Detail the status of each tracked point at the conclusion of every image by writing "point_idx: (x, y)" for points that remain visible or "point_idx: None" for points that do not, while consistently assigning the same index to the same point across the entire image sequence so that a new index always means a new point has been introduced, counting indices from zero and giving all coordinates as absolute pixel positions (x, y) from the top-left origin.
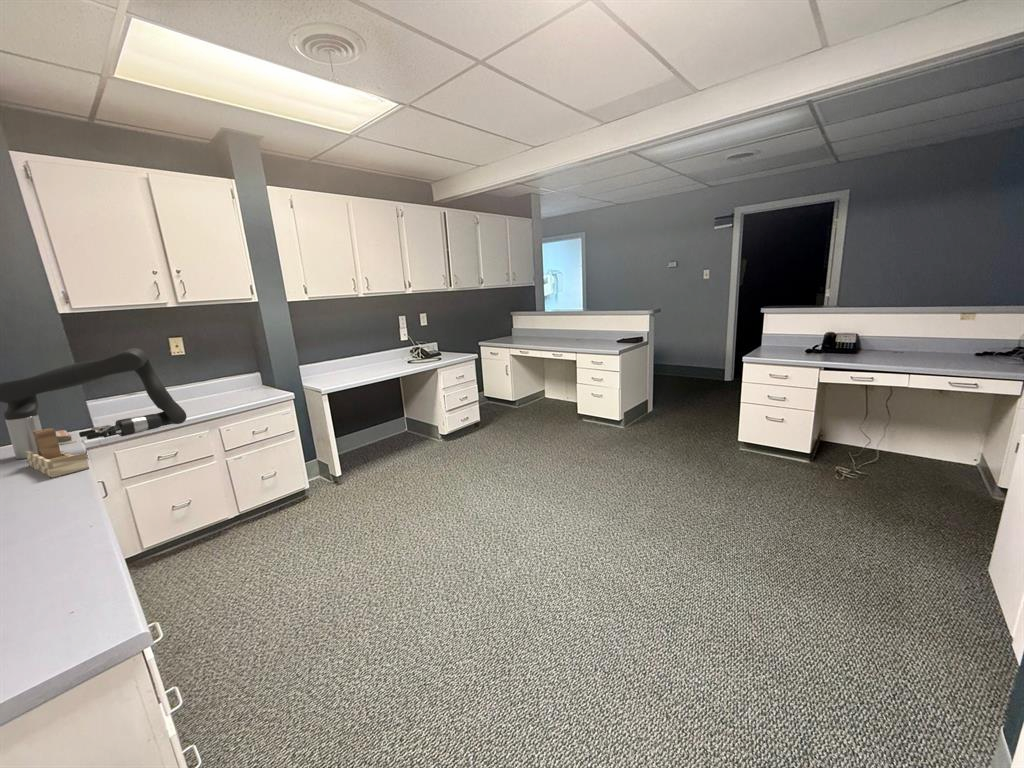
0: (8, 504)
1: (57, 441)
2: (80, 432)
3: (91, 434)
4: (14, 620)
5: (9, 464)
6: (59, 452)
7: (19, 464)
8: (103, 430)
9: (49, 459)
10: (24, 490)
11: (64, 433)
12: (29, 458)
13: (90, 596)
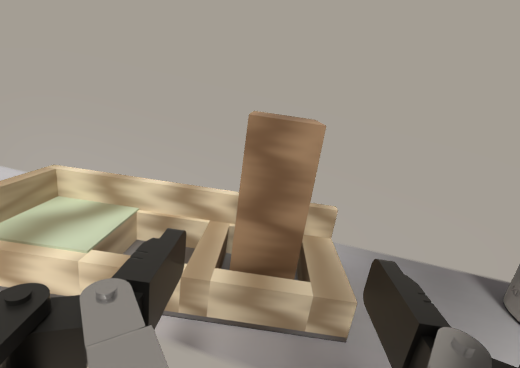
0: (5, 167)
1: (240, 187)
2: (375, 261)
3: (156, 249)
4: None
5: (433, 266)
6: (233, 242)
7: (402, 270)
8: (127, 333)
9: (217, 235)
10: None
11: None
12: None
13: None
